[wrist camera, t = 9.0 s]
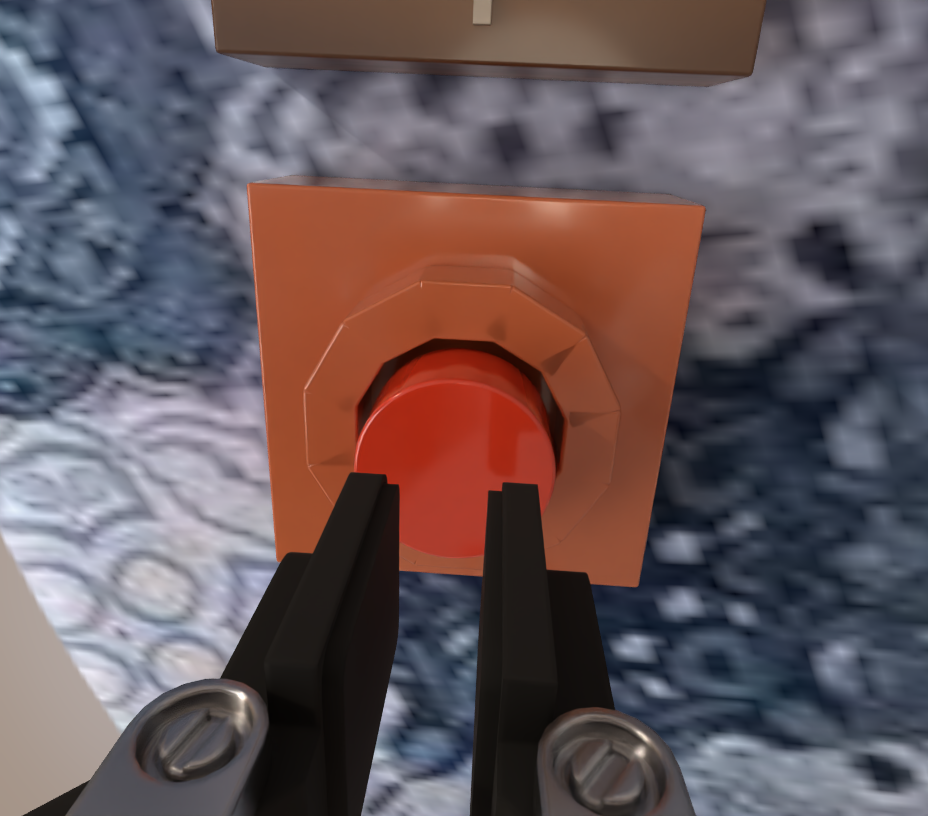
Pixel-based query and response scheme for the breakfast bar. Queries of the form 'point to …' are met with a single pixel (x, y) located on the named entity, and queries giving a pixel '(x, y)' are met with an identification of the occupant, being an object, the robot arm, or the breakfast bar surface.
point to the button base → (475, 337)
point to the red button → (456, 445)
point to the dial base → (500, 38)
